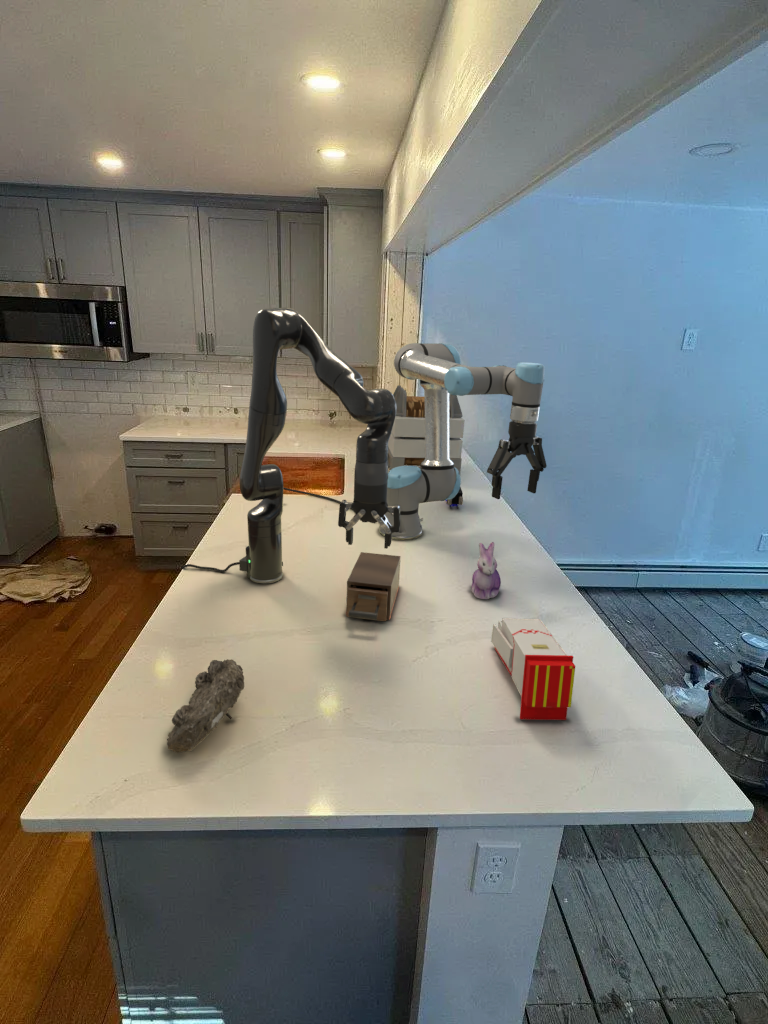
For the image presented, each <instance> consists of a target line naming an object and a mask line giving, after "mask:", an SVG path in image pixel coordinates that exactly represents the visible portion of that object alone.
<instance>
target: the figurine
mask: <svg viewBox="0 0 768 1024" xmlns="http://www.w3.org/2000/svg"><path fill="white" fill-rule="evenodd" d="M478 550H479V558H478V560H477V563H476V566H477V569H476V570H475V571H473V574H472V577H471V587H470V588H471V589H470V590H471V593H472V594H473V595H474V597H475V598H477V599H481V600H489V599H490V598H492V599H493V598H495V597H497V596H498V594H499V592H500V588H501V586H502V585H501V584H502V580H501V575H500V573H499V570H498V569H497V568H498V562H497V560H496V557H495V555H494V551H495V542H494V541H491V542H490V543H489V545H488V546H487V548H486V547H485V545H484V544H483V543H482V542H479V544H478Z"/></svg>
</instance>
